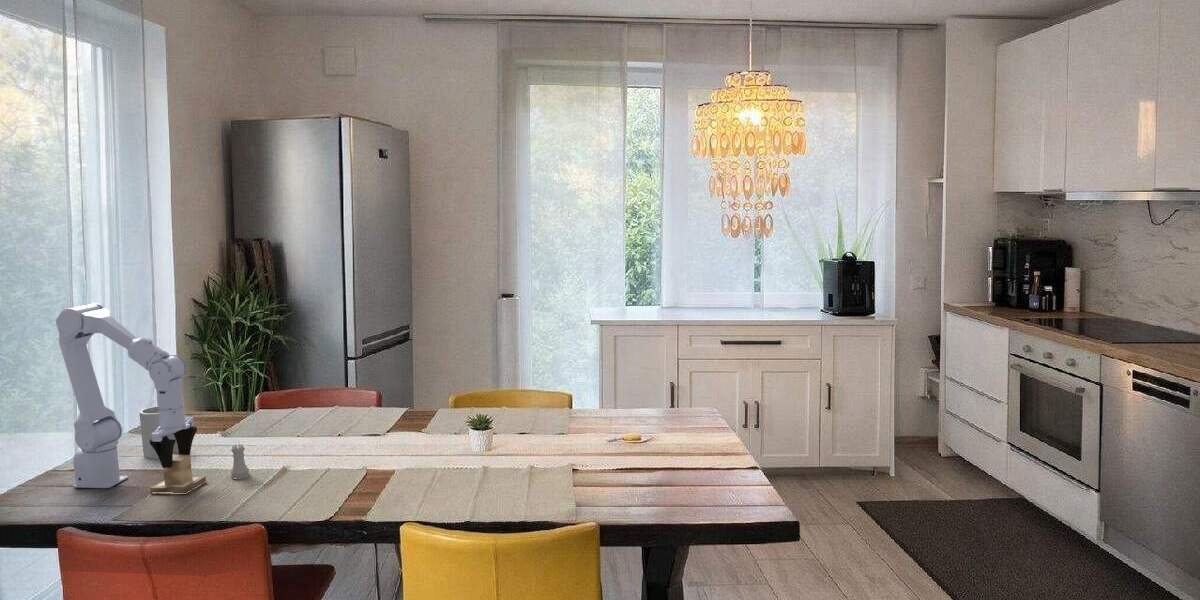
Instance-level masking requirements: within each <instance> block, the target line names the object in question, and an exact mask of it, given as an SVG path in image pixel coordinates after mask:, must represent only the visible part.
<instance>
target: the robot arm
mask: <svg viewBox="0 0 1200 600" xmlns="http://www.w3.org/2000/svg"><path fill="white" fill-rule="evenodd" d="M55 324H56V327H57V331H58V335H59V336H58V344H59V348H60V351H61V354H62V358H63V360H64V361H63V362H64V364H65V368H66V370H67V373H68V378H69V380H70V383H71V387H72V389H73V391H72V392H73V394H74V398H75V401H76V403H77V408H78V410H79V415H78V416H77V418H76V419H75V421H74V423H73V426H74V430H75V431H74V432H75V433H74V440H75V443H76V445H77V447H78V448H79V449H78V450H76V451H75V453H74V456H73V459H72V460H73V461H72V462H73V472H74V480H75V484H74V485H73V488H79V489H80V488H83V489H93V488H94V489H110V488H112V487H114V486H115V485H117V484H119V483H122V482H123V481H125V480H127V479H128V478H129V476H128V475H120V465H119V455H118V446H117V445H119V440H120V439H121V438H122V435H123V427H122V424H121V422H120V421H119V420H118V418H117V417H116V415H115V411H113V410H111V409H110V408H109V407H106V406H105V403H104V400H103V396H102V394H101V389H100V386H99V383H98V379H97V376H96V372H95V371H94V367H93V362H92V361H91V356H90V353H89V351H88V350H89V349H88V347H87V345H88V343H89V341H90V339H91V338H92V336H94V335H95V334H101V335H103V336H104V337H107V338H108V339H109V340H111V341H113V342H114V343H116V344H118V345H120V346H121V347H122V348H123V349H124V348H125V350H127V355H128V357H129V359H131V360H132V361H134V362H135V363H136V364H138V365H139V366H141V367H142V368H143V369H145V370H147V372H148V374H149V378H150V379H151V381H152V382H153V384H154V388H155V390H156V398H157V406H158V411H159V422H160V426H159V427H158V428H157V430H156V431H155V432H154V433H152V439H151V440H150V445H151V446H152V447H153V448H154V450H155V451H156V453H157V455H158V457H159V458H158V459H159V462H160V464H161V467H162V469H163V468H171V467H172V464H173V448H174V444H175V441H177V445H178V451H179V453H178V455H190V456H191V452H192V451H191V450H192V446H193V445H192V444H193V441H194V438H195V435H196V433H197V431H198V428H197V426H194V424H195V422H194V417H193V416H186V412H185V411H186V409H185V399H184V398H185V397H184V389H183V377H184V376H185V374H186V373H187V364H186V362H185V360H184V359H183V358H182V357H181V355H179V354H175V353H174V354H170V353H169V352H167V351H166V350H163V349H162V348H160V347H159V346H158V345H156V344H155V343H154V342H153V339H151V338H146V337H140V338H138V337H137V336H135V335H134V333H132V332H131V331H130V330H128V329H127V328H126V327H124V325H122V324H121V323H120V322H119V321H118V320H117V319H115V318H114V317H113V316H112V315H111V311H110V310H109V309H108V308H105V307H104V306H103V305H102V304H101V303H98V302H91V303H89V304H86V305H85V304H84V305H80V306H76V307H68V308H64V309H63V310H62V311H61V312H60V313H59V314H58V316H57V317H56V320H55ZM171 434H174V436H175V438H176V440H172V439H169V438H168V436H169V435H171Z"/></svg>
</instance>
